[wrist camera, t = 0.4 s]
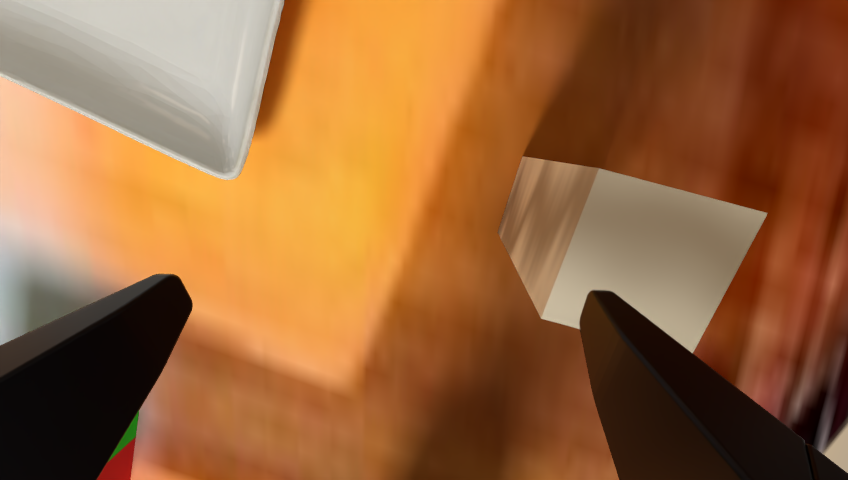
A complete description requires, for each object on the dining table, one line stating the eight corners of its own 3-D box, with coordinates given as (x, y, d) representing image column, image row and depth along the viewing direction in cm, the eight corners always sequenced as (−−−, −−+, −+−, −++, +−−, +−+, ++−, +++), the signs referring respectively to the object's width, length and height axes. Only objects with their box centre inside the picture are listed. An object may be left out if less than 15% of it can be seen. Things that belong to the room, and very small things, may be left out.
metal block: (571, 253, 23) (689, 360, 12) (497, 233, 23) (540, 319, 12) (601, 177, 22) (767, 213, 10) (522, 156, 22) (599, 168, 10)
